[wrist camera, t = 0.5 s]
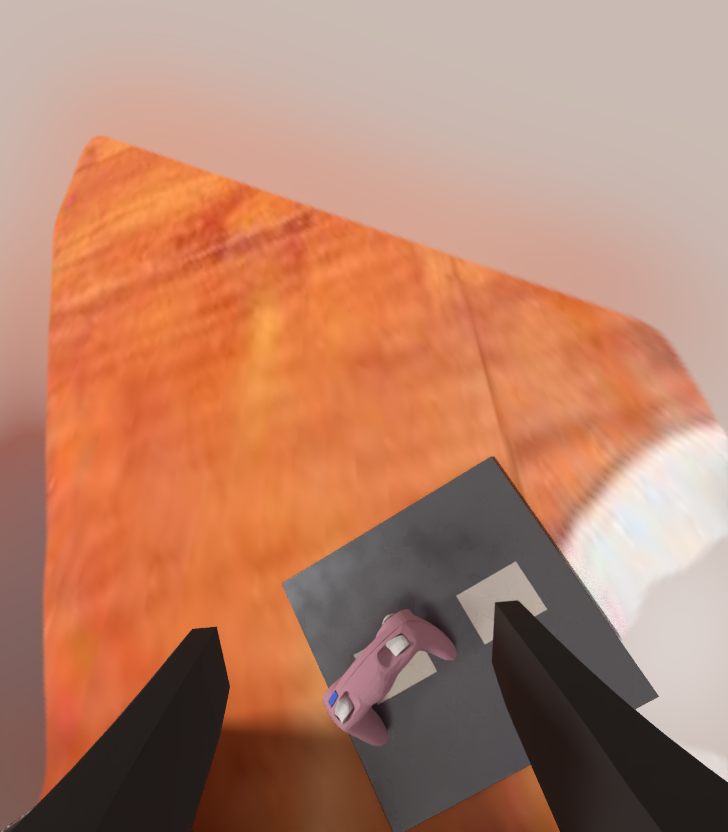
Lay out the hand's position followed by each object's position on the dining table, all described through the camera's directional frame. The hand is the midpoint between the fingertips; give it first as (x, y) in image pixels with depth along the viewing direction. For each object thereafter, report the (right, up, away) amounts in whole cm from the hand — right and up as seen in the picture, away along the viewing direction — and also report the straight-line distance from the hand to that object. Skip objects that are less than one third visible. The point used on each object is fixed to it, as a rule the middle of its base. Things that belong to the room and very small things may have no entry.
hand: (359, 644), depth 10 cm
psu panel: (+7, -12, +21) cm, 25 cm away
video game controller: (+3, -14, +21) cm, 26 cm away
